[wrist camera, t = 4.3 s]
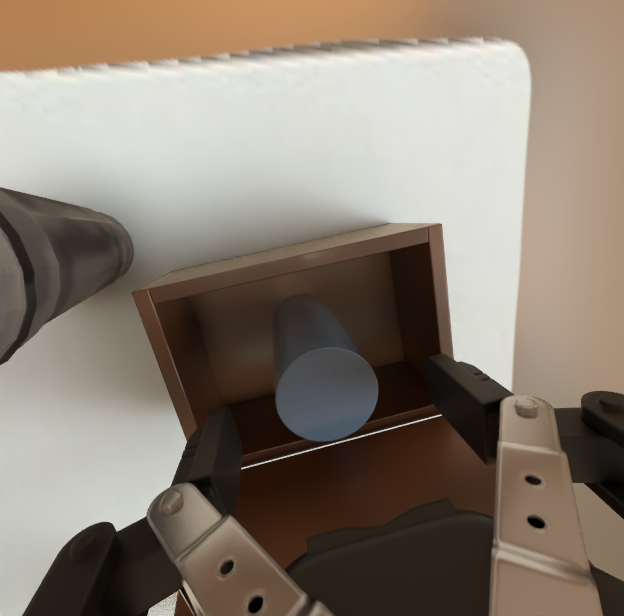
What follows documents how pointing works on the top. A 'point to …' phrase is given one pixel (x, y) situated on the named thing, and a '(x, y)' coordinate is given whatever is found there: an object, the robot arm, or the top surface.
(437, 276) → the chest
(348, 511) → the lid
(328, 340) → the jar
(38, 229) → the beverage cup
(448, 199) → the top surface
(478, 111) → the top surface
